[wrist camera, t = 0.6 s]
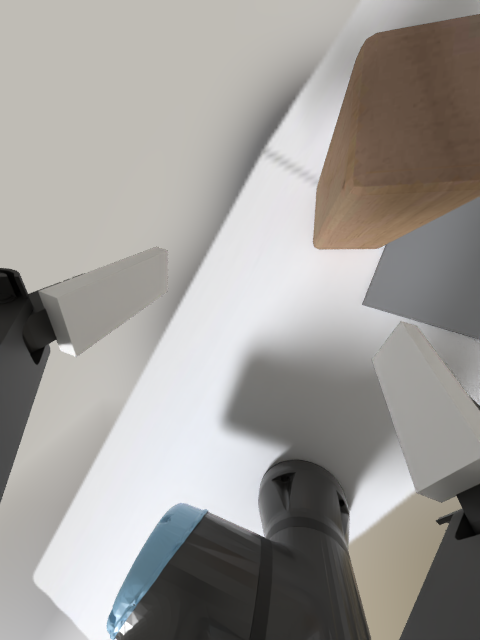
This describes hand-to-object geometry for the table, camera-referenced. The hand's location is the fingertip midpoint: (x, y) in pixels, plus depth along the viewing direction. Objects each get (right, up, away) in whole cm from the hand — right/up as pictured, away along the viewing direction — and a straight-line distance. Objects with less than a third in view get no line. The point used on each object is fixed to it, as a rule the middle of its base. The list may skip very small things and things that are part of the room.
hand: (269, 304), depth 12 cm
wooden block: (+15, +15, +21) cm, 30 cm away
